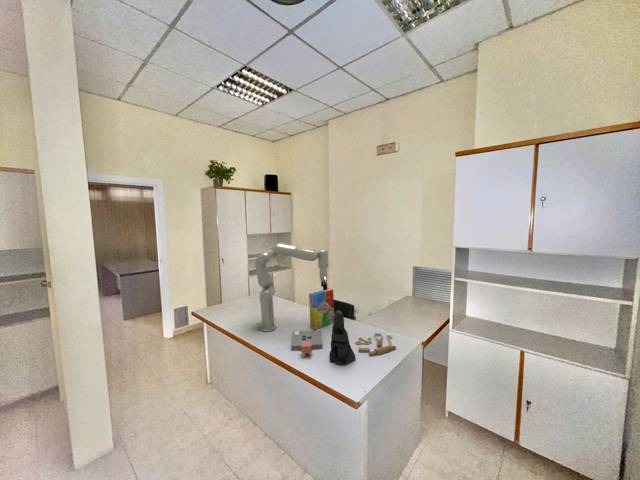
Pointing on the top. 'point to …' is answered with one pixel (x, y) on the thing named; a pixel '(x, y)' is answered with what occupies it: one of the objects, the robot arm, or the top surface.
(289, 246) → the robot arm
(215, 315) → the top surface
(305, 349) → the pink block
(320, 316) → the game box
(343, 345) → the black tall figure
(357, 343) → the toy baking set
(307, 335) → the socket
